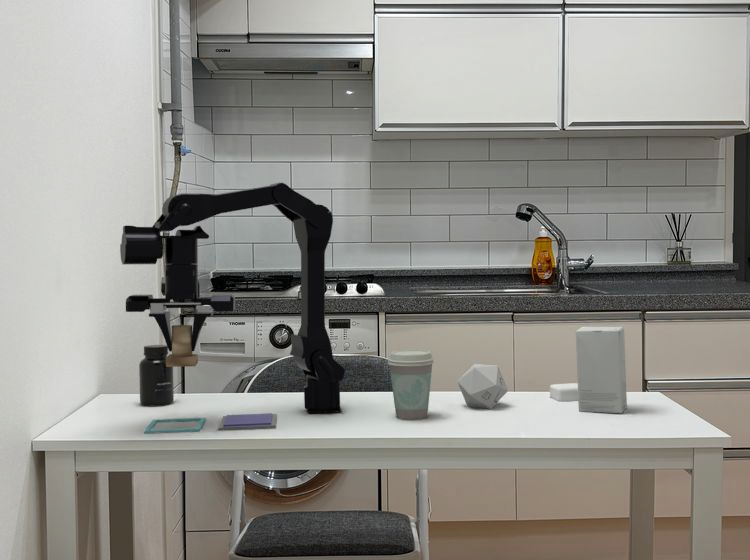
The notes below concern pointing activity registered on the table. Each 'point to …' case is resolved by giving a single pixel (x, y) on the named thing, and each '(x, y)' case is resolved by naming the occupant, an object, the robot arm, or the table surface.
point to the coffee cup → (411, 382)
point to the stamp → (181, 347)
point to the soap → (564, 392)
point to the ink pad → (248, 421)
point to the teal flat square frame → (198, 428)
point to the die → (482, 386)
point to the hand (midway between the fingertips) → (182, 351)
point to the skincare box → (601, 369)
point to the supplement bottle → (156, 377)
